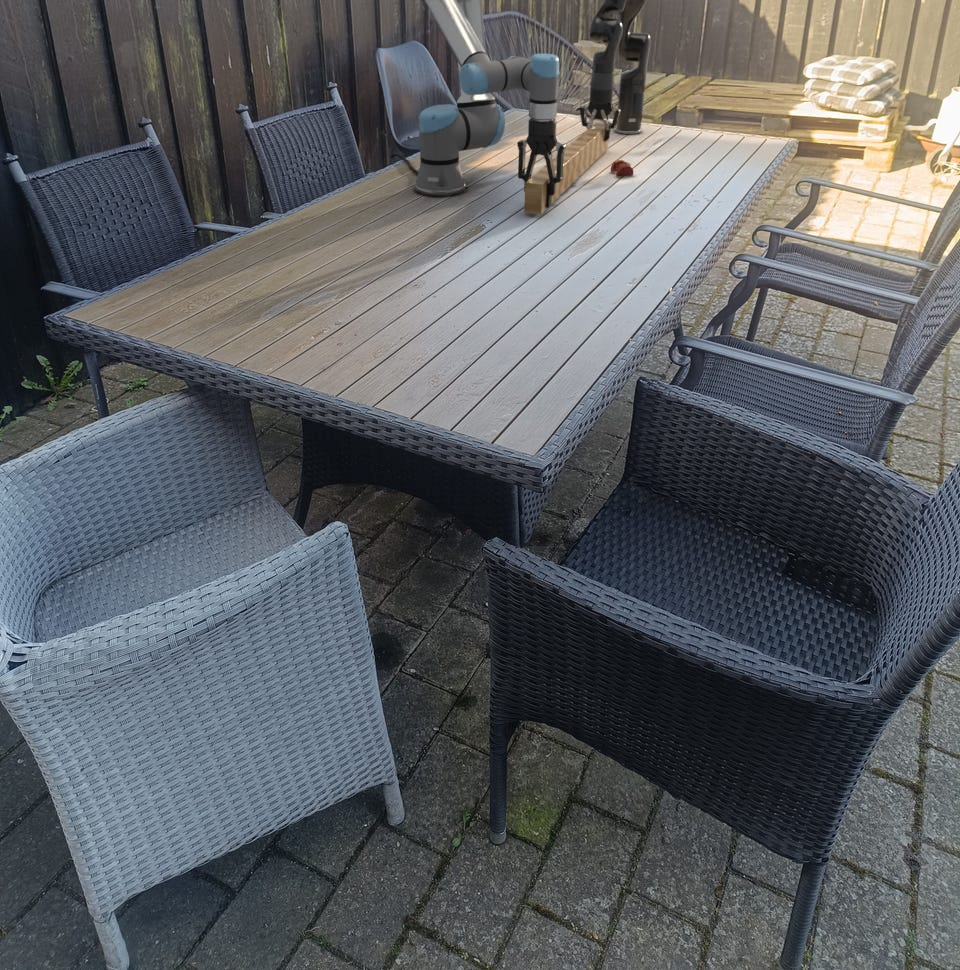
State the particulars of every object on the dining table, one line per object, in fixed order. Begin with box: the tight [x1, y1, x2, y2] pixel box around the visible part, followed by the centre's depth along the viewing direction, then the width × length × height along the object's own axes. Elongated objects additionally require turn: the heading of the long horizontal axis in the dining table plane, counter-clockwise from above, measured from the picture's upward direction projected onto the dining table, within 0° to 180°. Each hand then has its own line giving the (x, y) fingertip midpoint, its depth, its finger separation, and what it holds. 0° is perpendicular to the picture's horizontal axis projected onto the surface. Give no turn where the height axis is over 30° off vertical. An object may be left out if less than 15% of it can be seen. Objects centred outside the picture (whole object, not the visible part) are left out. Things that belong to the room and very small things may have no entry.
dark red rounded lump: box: [610, 159, 634, 178], centre depth 271 cm, size 6×4×8 cm
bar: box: [523, 121, 610, 215], centre depth 264 cm, size 78×5×8 cm, turn 159°
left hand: (539, 205), depth 241 cm, fingers closed on bar, 5 cm apart
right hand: (597, 140), depth 289 cm, fingers closed on bar, 5 cm apart
